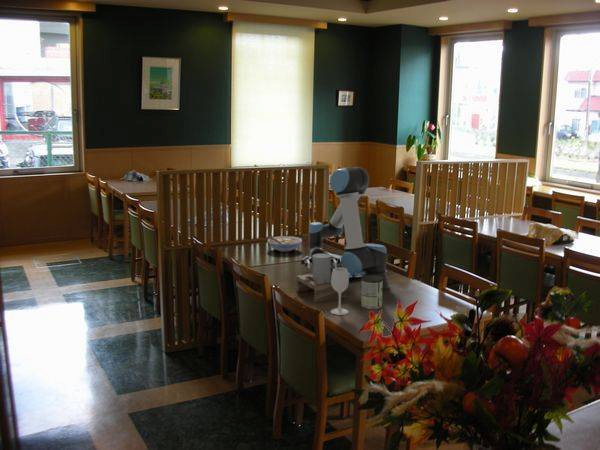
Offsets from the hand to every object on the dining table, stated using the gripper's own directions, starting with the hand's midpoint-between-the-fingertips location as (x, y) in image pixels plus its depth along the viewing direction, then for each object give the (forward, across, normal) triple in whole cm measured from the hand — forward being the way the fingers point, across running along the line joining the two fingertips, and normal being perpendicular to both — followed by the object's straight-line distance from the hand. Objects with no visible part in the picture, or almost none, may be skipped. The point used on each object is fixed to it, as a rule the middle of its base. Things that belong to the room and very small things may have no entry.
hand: (322, 265), depth 319 cm
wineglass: (+26, -5, -16) cm, 31 cm away
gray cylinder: (-3, 0, -8) cm, 9 cm away
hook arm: (-3, 0, -10) cm, 11 cm away
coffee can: (+17, -22, -16) cm, 32 cm away
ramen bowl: (-98, +13, -16) cm, 100 cm away
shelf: (-3, 0, -16) cm, 16 cm away
